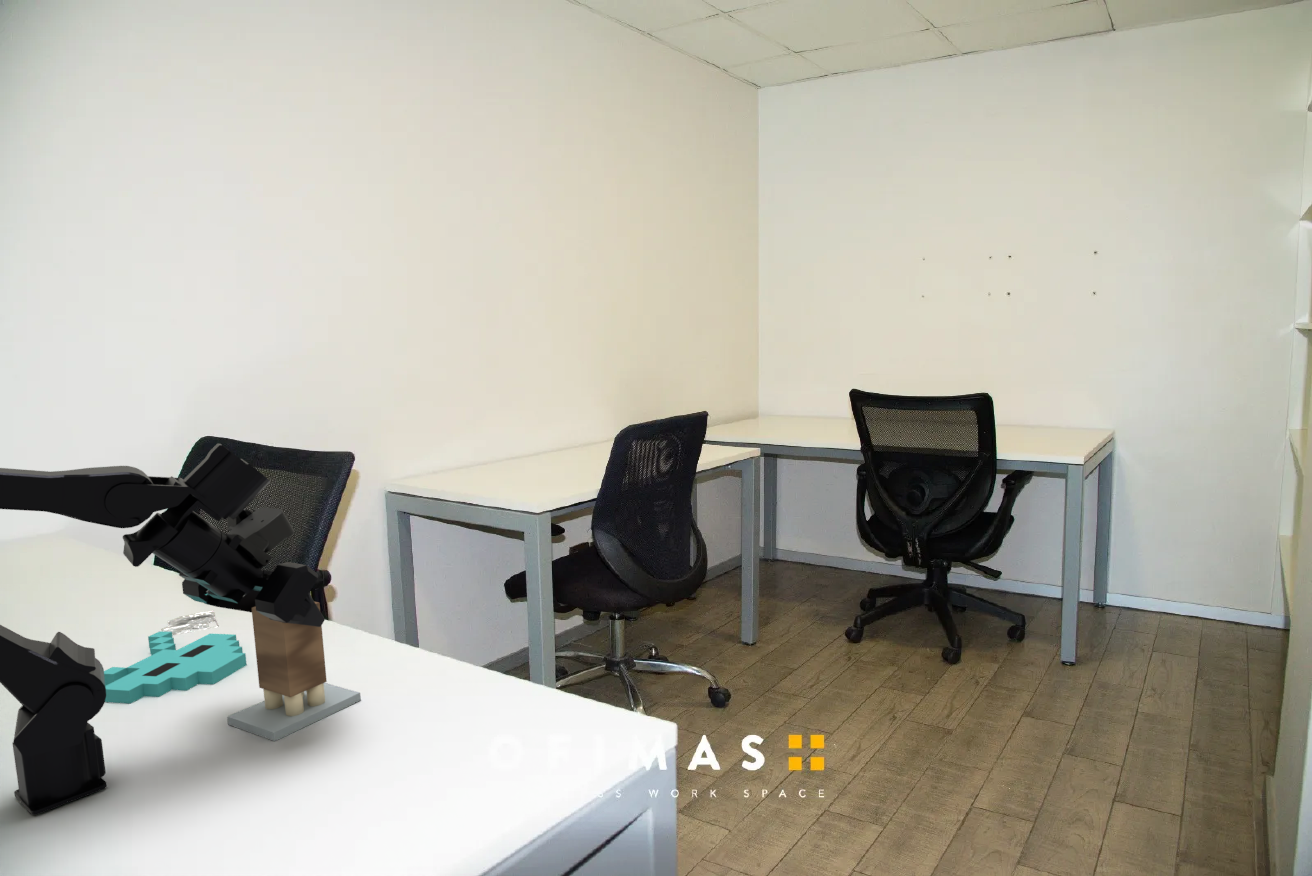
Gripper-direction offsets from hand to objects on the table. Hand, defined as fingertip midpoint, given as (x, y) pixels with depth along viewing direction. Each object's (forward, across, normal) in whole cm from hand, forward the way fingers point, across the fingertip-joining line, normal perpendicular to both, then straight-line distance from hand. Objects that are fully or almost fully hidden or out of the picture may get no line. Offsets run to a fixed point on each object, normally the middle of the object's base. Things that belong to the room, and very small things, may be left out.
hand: (297, 617), depth 104 cm
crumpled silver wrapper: (+16, +45, +1) cm, 48 cm away
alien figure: (+8, +28, +10) cm, 31 cm away
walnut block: (+5, 0, +7) cm, 8 cm away
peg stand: (+7, 0, +9) cm, 12 cm away
